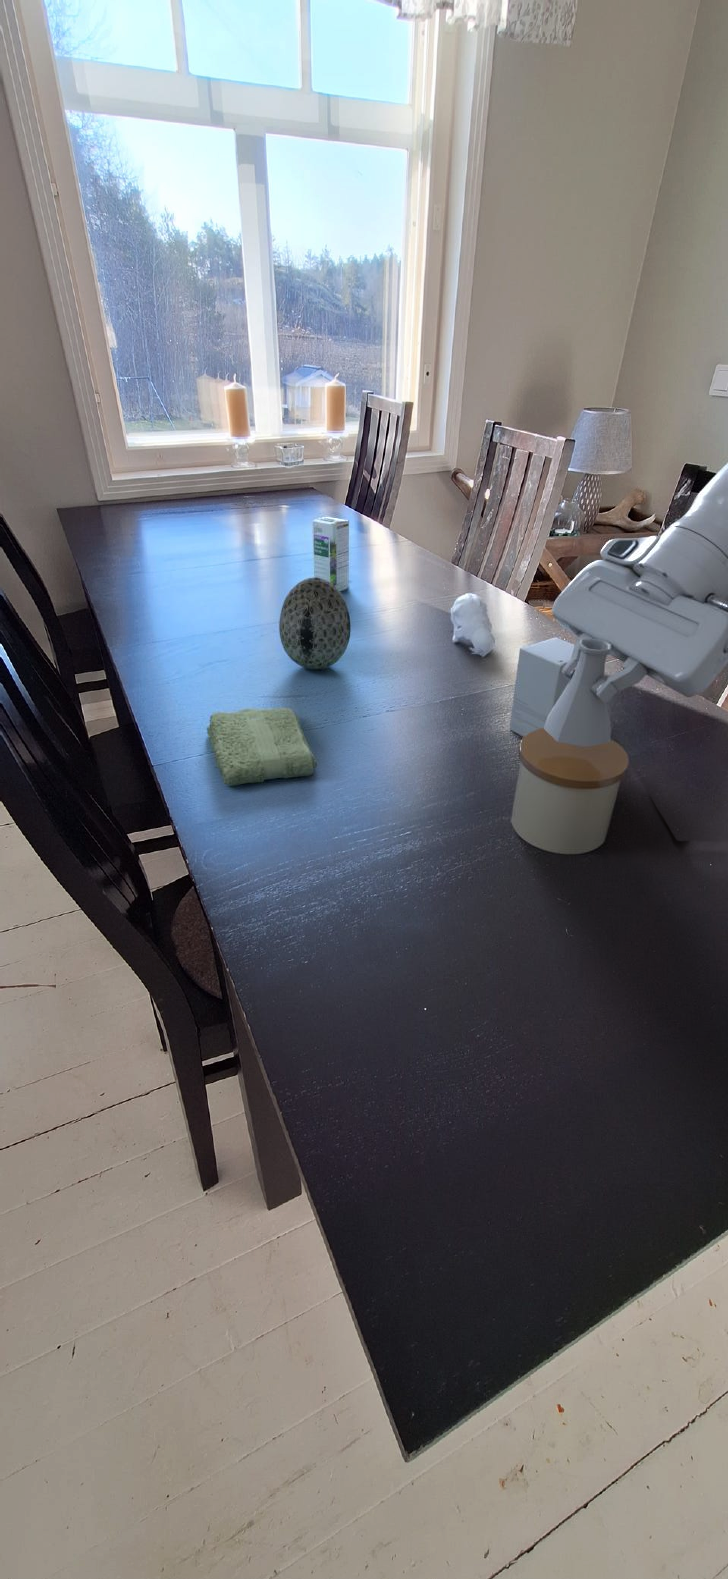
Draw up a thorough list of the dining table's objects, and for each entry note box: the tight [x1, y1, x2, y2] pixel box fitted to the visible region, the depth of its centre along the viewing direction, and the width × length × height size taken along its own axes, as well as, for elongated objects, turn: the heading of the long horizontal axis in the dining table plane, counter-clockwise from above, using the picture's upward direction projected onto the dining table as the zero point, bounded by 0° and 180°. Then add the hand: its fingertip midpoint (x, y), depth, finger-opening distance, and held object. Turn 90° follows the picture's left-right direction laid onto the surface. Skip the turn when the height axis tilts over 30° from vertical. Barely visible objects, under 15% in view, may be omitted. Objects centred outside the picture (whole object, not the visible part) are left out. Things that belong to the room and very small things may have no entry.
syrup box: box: [312, 516, 350, 593], centre depth 147 cm, size 6×6×14 cm
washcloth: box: [206, 707, 318, 787], centre depth 93 cm, size 13×18×3 cm
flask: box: [544, 638, 612, 747], centre depth 72 cm, size 7×7×10 cm
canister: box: [510, 728, 630, 855], centre depth 79 cm, size 12×12×10 cm
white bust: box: [450, 592, 496, 658], centre depth 123 cm, size 6×8×12 cm
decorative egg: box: [278, 576, 352, 671], centre depth 113 cm, size 12×12×15 cm
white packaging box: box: [508, 636, 575, 738], centre depth 96 cm, size 7×7×13 cm
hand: (581, 687), depth 71 cm, fingers closed on flask, 3 cm apart
